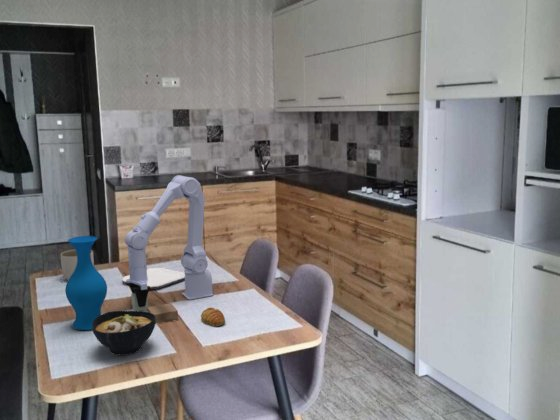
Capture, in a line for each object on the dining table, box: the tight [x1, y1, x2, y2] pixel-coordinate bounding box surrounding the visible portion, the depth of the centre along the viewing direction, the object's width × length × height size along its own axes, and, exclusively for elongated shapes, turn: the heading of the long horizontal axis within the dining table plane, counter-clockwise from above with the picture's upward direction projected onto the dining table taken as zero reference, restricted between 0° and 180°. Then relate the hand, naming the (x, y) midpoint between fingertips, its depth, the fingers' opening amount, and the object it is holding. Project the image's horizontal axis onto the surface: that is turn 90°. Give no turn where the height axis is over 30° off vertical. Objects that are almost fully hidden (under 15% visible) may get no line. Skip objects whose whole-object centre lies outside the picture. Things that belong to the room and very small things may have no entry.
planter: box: [59, 248, 95, 281], centre depth 220 cm, size 12×12×11 cm
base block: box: [146, 302, 179, 325], centre depth 177 cm, size 8×8×4 cm
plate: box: [121, 267, 185, 290], centre depth 217 cm, size 21×21×2 cm
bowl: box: [92, 310, 156, 356], centre depth 153 cm, size 17×17×10 cm
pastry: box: [200, 307, 226, 327], centre depth 173 cm, size 9×7×4 cm
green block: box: [130, 292, 149, 311], centre depth 186 cm, size 4×4×5 cm
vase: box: [64, 235, 108, 331], centre depth 170 cm, size 12×13×28 cm
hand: (140, 304), depth 186 cm, fingers closed on green block, 4 cm apart
